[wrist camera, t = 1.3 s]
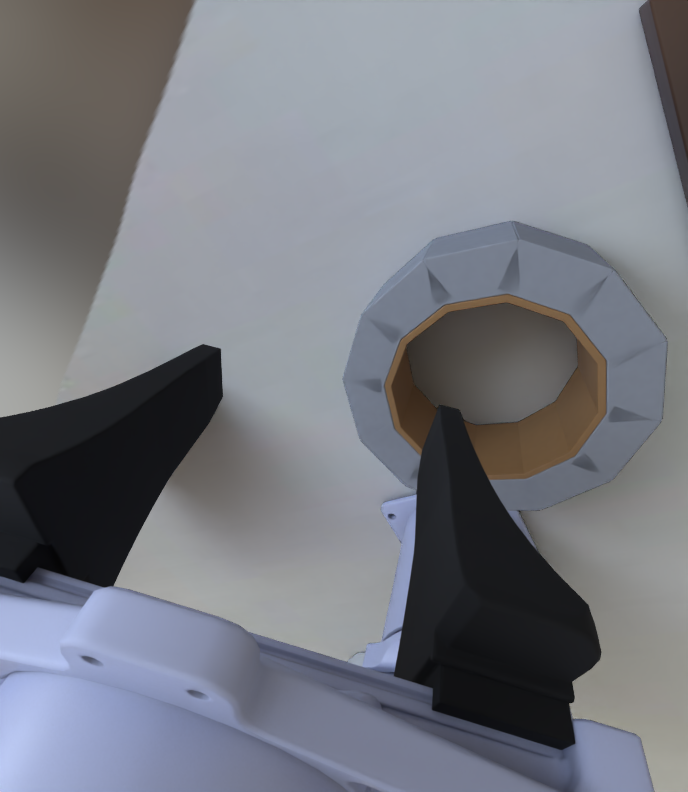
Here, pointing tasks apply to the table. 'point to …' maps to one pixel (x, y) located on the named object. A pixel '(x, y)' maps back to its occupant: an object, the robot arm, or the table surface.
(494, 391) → the table surface
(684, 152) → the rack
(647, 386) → the tape roll
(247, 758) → the robot arm
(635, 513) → the table surface
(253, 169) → the table surface
